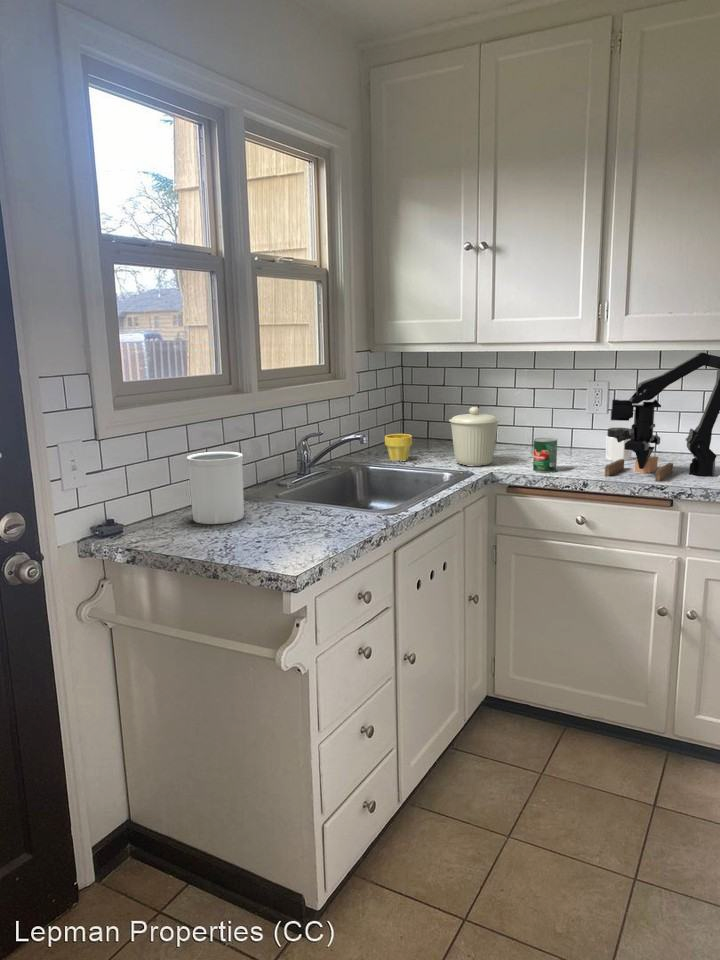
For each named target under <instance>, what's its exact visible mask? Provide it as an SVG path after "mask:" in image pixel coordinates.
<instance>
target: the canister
mask: <svg viewBox="0 0 720 960" xmlns="http://www.w3.org/2000/svg"><path fill="white" fill-rule="evenodd" d="M468 412H469V413H467V414H465V413H464V414H458V415H454V416H453V417H452V418H450V419H448V421H449V423H450V427H451V435H452V443H453V452H454V457H455V460H456V463H457V464H458V463H459V464H458V465H460V464H463V465H462V466H464V465H473V466H472V467H482V466H481V465H485V466H489V465H490V464H491V463H492V461H493V460H494V455H495V449H496V441H497V432H498V424H499V422H500V419H499V418H497V417H496V416H495V415H493V414H486V413H480V408H479V407H476V406H473V407H470V408H469V410H468Z"/></svg>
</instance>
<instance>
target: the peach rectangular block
mask: <svg viewBox="0 0 720 960" xmlns="http://www.w3.org/2000/svg"><path fill="white" fill-rule="evenodd" d="M658 457H659V456H653V455H650V457H649V459H648V461H647V462H646V464H645V466H644V468H643V469H639V465H638V461H637V458H636V459H635V462H634V463H635V466H634V472H635V473H645V474H650V473H651V474H652V472H654V471H656V470H658V463H659V462H658V459H659V458H658Z"/></svg>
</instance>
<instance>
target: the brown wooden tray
mask: <svg viewBox="0 0 720 960" xmlns="http://www.w3.org/2000/svg"><path fill="white" fill-rule="evenodd" d="M604 467H605V468H604V470H605V471H604V477H605V478H606V477H607V478H609V477H612V476H613V475H615V474H617V473H619V472H621V471H622V470H624V469H625V461H624V459H619V460H617V461H616V460H614V462H610V464H607V465H605V466H604ZM673 472H674V463H673V462H668V463H667V464H665V465H663V466H661V467H660V468H657V469H656V470H655V477H654V478H655V479H654V481H655V482H658V483H659V482H661V481H663V480H664V479H666V478H667V477H669V476H671V475H673Z"/></svg>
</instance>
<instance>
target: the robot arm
mask: <svg viewBox="0 0 720 960" xmlns="http://www.w3.org/2000/svg"><path fill="white" fill-rule="evenodd" d="M703 366H704V367H709V368H712V369H716V370H717V371H716V378H715V379H716V380H715V384H714V387H713V389H712V392H711V394H710V396H709V399H708V401H707V404H706V407H705V408H704V412H703V413H702V416H701V419H700V421H699V423H698V425H697V426H696V428H695V429H693V428H689V431H688V432H689V433H688V436H687V437H686V438H685V442H686V448H687V450H688V451H689V452H690V453H691V454H692V455H693V458H692V459H691V462H690V463H689V470H688V471H689V475H690V476H695V477H702V478H706V477H710V478H712V477H714V476H715V472H716V470H715V469H716V458H717V455H716V453H714V451H713V450H712V449H710V447H711V442H712V435H713V428H714V427H715V424H716V421H717V419H718V416H719V413H720V355H719V356H718V355H713V354H709V353H707V352H697V353H696V354H695V355H694V356H692V357H690V358H688V359H687V360H685V361H683V362H682V363H680V364H678V365H676V366H675V367H672V368H670V369H669V370H667V371H666V372H664V373H662V374H660V375H657V376H655V377H651V378H648V379H645V380H642V381H641V382H639V383H638V384H637V386H636V389H635V391H634V393H633V394H632V396H630V398H629V399H612V400H611V403H612V404H611V408H610V421H619V422H621V421H626V422H629V421H630V419H632V418H634V423H633V424H631V427H630V428H629V429H628V430H624V429H619V430H617V432H616V433H615V438H616V439H617V441H618V442H621V441H624V440H627V439H630V440H629V441H627V442H626V443H625V450H632V452H633V453H634V454H635V456H636V459H637V461H638V465H639V469H643V468H644V466H645V464H646V462H647V461H648V459H649V457H650V456H652V453H653V451H654V450H655V446H651V444H655V445H658V446H659V445H660V444H661V437H660V436H659V434H658V435H657V434H654V428H656V423H655V422H654V421H655V420H654V419H655V408H662V405H661V404H660V403H659V402H658V400H657V399H654V398H655V397H656V396H658V395H659V394H660V393H661V392H663V391H664V390H665V389H666V388H668V386H670V385H672V384H673V383H675V382H677V381H679V380H680V379H682V378H683V377H686V376H687V375H690V374H691V373H693V372H694V371H697V370H698V369H700V368H701V367H702V368H703ZM651 400H653V401H651ZM640 403H642V404H640ZM634 408H635V410H634Z"/></svg>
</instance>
